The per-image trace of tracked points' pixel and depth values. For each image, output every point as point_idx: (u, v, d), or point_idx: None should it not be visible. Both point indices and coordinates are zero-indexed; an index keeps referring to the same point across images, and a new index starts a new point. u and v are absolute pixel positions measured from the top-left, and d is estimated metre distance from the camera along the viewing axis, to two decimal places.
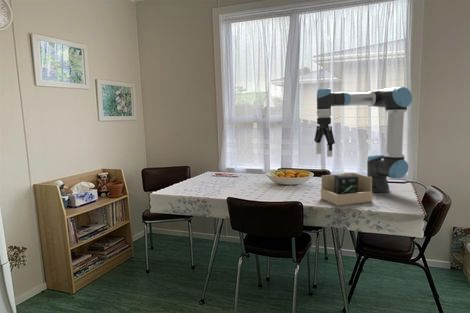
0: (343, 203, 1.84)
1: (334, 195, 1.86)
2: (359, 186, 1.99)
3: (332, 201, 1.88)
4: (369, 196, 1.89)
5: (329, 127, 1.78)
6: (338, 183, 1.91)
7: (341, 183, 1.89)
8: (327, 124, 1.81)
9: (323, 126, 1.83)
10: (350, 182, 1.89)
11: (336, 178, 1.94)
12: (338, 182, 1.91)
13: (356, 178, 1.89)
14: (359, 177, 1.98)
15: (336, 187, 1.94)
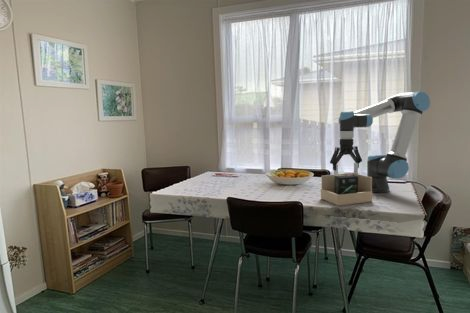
0: (343, 203, 1.84)
1: (334, 195, 1.86)
2: (359, 186, 1.99)
3: (332, 201, 1.88)
4: (369, 196, 1.89)
5: (336, 148, 1.89)
6: (338, 183, 1.91)
7: (341, 183, 1.89)
8: (341, 145, 1.90)
9: None
10: (350, 182, 1.89)
11: (336, 178, 1.94)
12: (338, 182, 1.91)
13: (356, 178, 1.89)
14: (359, 177, 1.98)
15: (336, 187, 1.94)
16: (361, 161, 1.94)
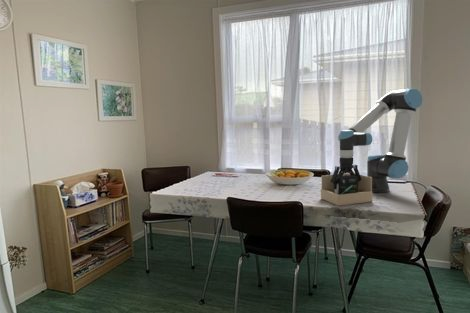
0: (343, 203, 1.84)
1: (334, 195, 1.86)
2: (359, 186, 1.99)
3: (332, 201, 1.88)
4: (369, 196, 1.89)
5: (336, 167, 1.91)
6: (338, 183, 1.91)
7: (341, 183, 1.89)
8: (340, 164, 1.91)
9: None
10: (350, 182, 1.89)
11: None
12: (338, 182, 1.91)
13: (356, 178, 1.89)
14: None
15: None
16: None
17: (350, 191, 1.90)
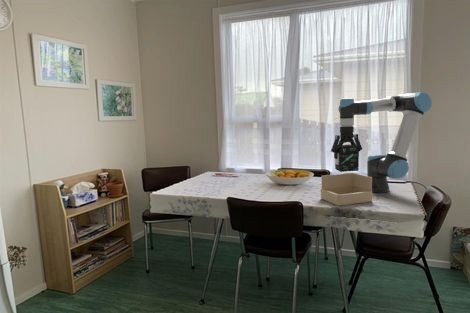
0: (343, 203, 1.84)
1: (334, 195, 1.86)
2: (359, 186, 1.99)
3: (332, 201, 1.88)
4: (369, 196, 1.89)
5: (336, 136, 1.88)
6: (339, 153, 1.89)
7: (342, 152, 1.87)
8: (341, 133, 1.89)
9: None
10: (350, 151, 1.87)
11: None
12: (338, 151, 1.89)
13: (357, 147, 1.87)
14: (359, 177, 1.98)
15: None
16: (361, 149, 1.93)
17: (351, 160, 1.88)
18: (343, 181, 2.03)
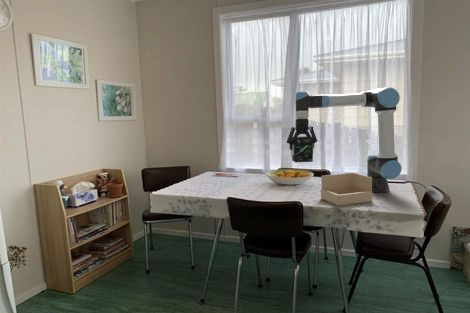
0: (343, 203, 1.84)
1: (334, 195, 1.86)
2: (359, 186, 1.99)
3: (332, 201, 1.88)
4: (369, 196, 1.89)
5: (291, 128, 1.95)
6: (294, 144, 1.95)
7: (297, 144, 1.94)
8: (296, 125, 1.96)
9: None
10: (305, 143, 1.94)
11: None
12: (294, 142, 1.95)
13: (311, 138, 1.94)
14: (359, 177, 1.98)
15: None
16: (316, 141, 2.00)
17: (305, 151, 1.94)
18: (343, 181, 2.03)
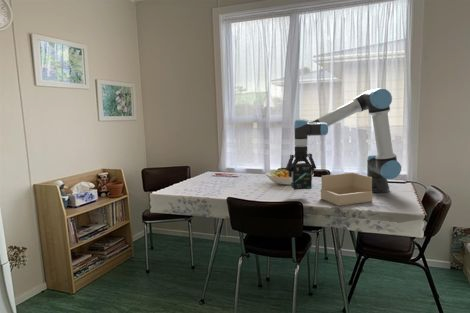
0: (343, 203, 1.84)
1: (334, 195, 1.86)
2: (359, 186, 1.99)
3: (332, 201, 1.88)
4: (369, 196, 1.89)
5: (290, 155, 1.98)
6: (293, 171, 1.98)
7: (295, 171, 1.96)
8: (295, 152, 1.98)
9: None
10: (303, 170, 1.96)
11: None
12: None
13: (309, 166, 1.96)
14: (359, 177, 1.98)
15: None
16: (315, 168, 2.02)
17: (304, 179, 1.97)
18: (343, 181, 2.03)
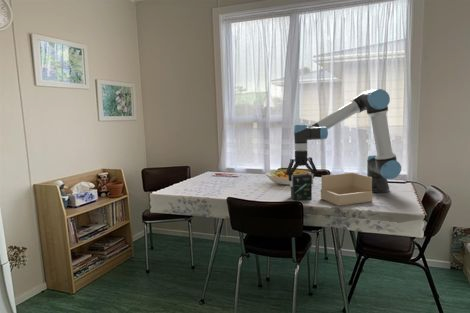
0: (343, 203, 1.84)
1: (334, 195, 1.86)
2: (359, 186, 1.99)
3: (332, 201, 1.88)
4: (369, 196, 1.89)
5: (290, 160, 1.98)
6: (293, 182, 1.98)
7: (296, 182, 1.97)
8: (295, 157, 1.98)
9: None
10: (304, 181, 1.97)
11: None
12: (293, 180, 1.99)
13: (310, 177, 1.97)
14: (359, 177, 1.98)
15: None
16: (316, 171, 2.03)
17: (304, 189, 1.98)
18: (343, 181, 2.03)
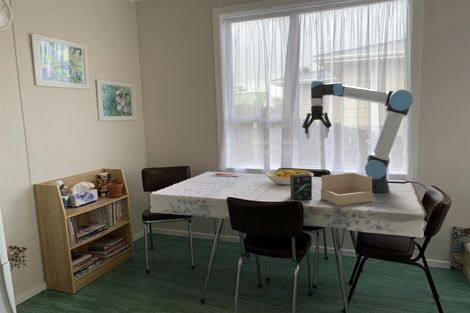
0: (343, 203, 1.84)
1: (334, 195, 1.86)
2: (359, 186, 1.99)
3: (332, 201, 1.88)
4: (369, 196, 1.89)
5: (307, 114, 2.13)
6: (293, 182, 1.98)
7: (296, 182, 1.96)
8: (312, 111, 2.13)
9: None
10: (304, 181, 1.97)
11: (291, 177, 2.01)
12: (293, 181, 1.98)
13: (310, 177, 1.97)
14: (359, 177, 1.98)
15: (291, 185, 2.01)
16: None
17: (304, 189, 1.97)
18: (343, 181, 2.03)
